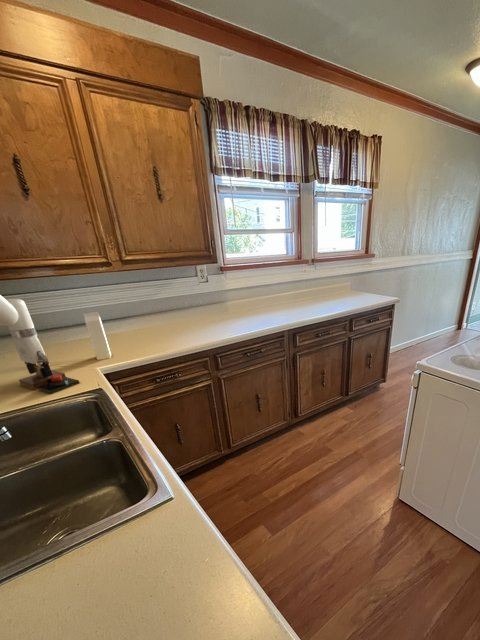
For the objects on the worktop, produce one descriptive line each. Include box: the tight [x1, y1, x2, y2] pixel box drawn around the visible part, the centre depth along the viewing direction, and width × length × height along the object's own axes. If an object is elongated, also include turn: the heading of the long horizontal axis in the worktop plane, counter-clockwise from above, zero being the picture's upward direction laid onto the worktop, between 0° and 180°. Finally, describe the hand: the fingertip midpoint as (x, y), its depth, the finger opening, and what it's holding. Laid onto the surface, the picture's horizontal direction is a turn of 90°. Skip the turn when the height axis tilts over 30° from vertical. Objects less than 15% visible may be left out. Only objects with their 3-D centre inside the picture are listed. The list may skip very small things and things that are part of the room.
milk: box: [83, 311, 112, 361], centre depth 156 cm, size 6×6×22 cm
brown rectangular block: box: [33, 364, 47, 378], centre depth 131 cm, size 6×2×4 cm, turn 57°
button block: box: [38, 375, 80, 395], centre depth 129 cm, size 11×8×4 cm
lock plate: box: [18, 369, 67, 391], centre depth 133 cm, size 12×10×3 cm
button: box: [50, 375, 63, 382], centre depth 128 cm, size 4×4×2 cm
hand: (41, 374), depth 132 cm, fingers open, 9 cm apart
